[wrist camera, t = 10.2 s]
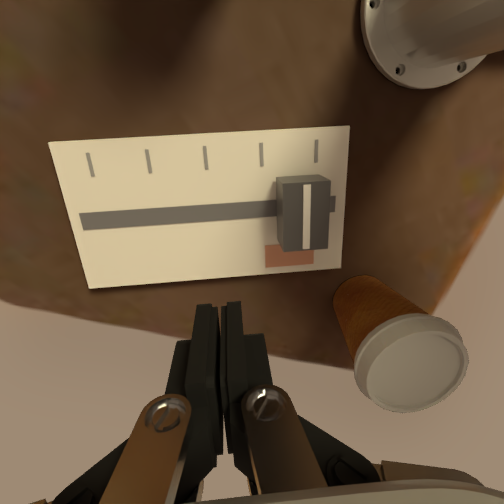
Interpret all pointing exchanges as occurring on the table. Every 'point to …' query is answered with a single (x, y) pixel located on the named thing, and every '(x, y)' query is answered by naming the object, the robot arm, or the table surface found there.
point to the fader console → (195, 203)
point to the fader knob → (303, 212)
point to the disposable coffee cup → (398, 347)
